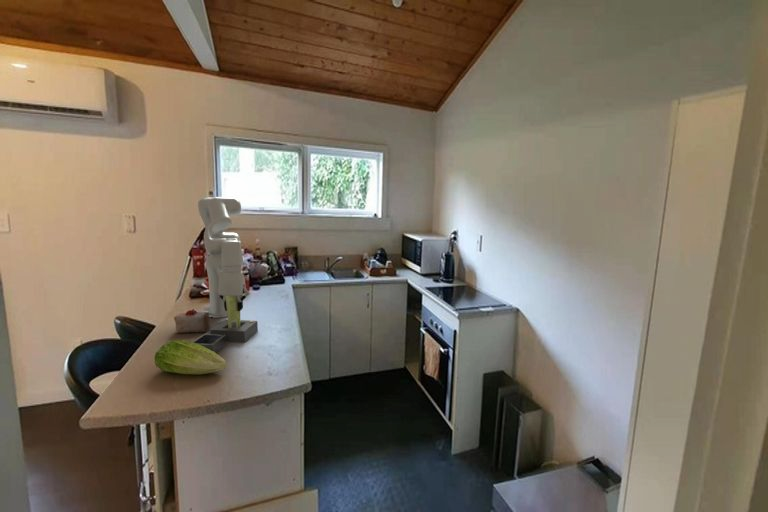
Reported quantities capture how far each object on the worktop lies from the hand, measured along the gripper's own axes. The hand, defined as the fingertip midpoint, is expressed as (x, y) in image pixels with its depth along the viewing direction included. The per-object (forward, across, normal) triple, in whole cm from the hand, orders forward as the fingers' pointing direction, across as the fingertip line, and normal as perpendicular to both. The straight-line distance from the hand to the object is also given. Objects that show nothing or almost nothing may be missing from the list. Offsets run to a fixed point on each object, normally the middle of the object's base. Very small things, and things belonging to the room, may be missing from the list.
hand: (233, 309), depth 154 cm
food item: (+12, -22, +4) cm, 25 cm away
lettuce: (+12, +1, -32) cm, 35 cm away
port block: (+12, 0, 0) cm, 12 cm away
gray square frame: (+12, -4, -14) cm, 19 cm away
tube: (+10, 0, 0) cm, 10 cm away
